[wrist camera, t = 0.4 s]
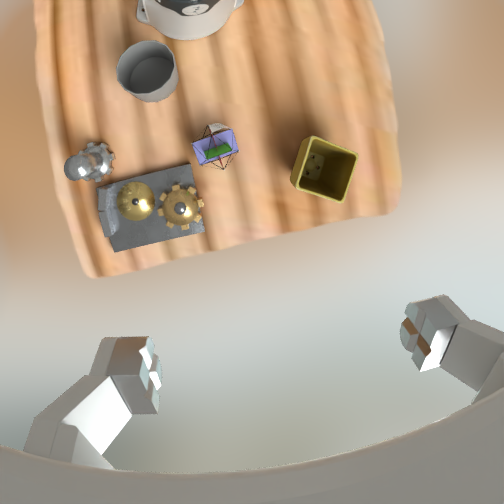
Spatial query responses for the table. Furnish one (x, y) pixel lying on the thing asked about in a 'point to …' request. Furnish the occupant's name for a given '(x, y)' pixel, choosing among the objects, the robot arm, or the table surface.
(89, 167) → the gear
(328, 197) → the flower pot
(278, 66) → the table surface
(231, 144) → the geometric puzzle
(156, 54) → the cup
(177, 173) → the carrier
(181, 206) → the sun gear
